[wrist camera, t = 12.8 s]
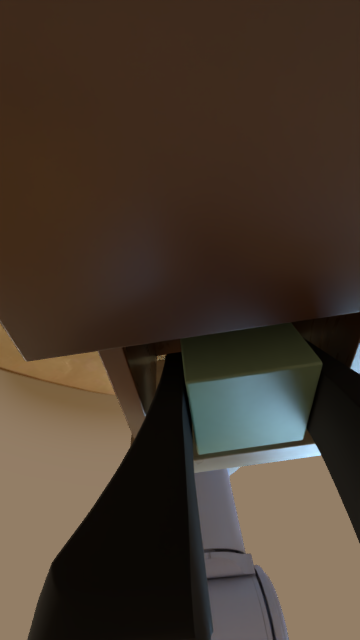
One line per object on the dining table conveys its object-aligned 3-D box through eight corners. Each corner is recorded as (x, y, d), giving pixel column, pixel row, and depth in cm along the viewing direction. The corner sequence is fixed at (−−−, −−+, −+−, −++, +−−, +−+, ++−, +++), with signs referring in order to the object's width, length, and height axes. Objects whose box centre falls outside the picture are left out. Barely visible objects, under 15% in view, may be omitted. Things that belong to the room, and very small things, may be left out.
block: (265, 365, 13) (304, 441, 9) (187, 377, 13) (197, 455, 9) (271, 296, 10) (324, 363, 7) (176, 310, 10) (184, 383, 7)
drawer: (284, 393, 20) (335, 491, 14) (153, 412, 20) (151, 516, 14) (325, 127, 10) (531, 92, 5) (78, 167, 10) (-19, 180, 5)
